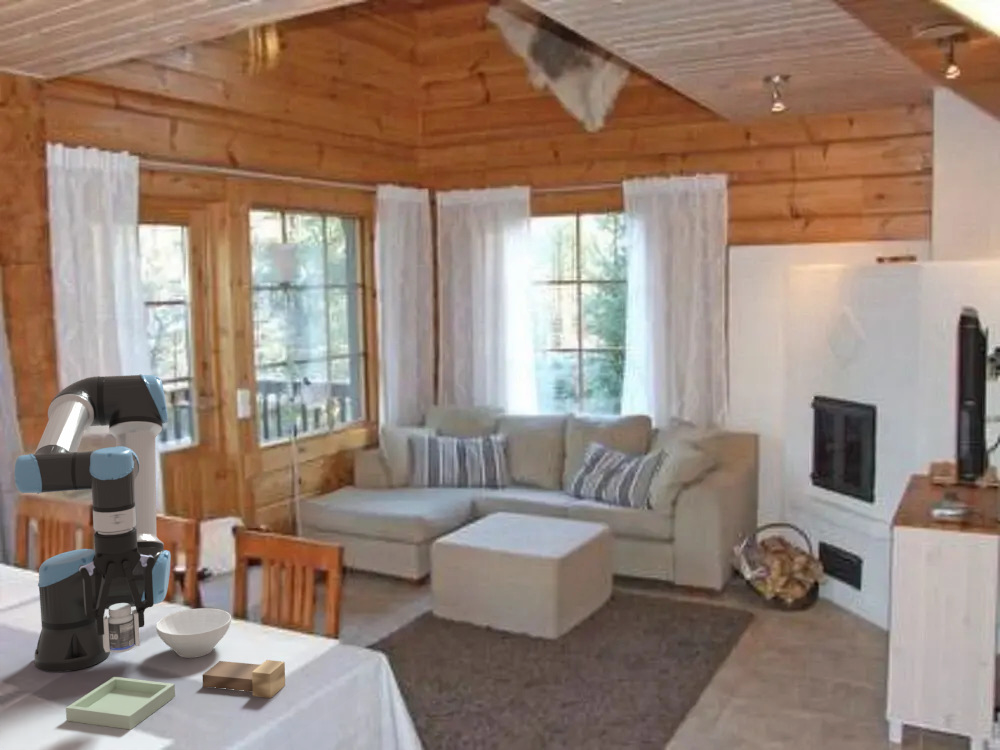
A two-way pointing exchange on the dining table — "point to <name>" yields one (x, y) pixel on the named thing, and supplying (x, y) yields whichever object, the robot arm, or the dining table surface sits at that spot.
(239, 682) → the brown cardboard box
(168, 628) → the bowl
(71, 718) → the tray
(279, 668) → the wooden block
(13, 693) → the dining table surface
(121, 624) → the pill bottle
